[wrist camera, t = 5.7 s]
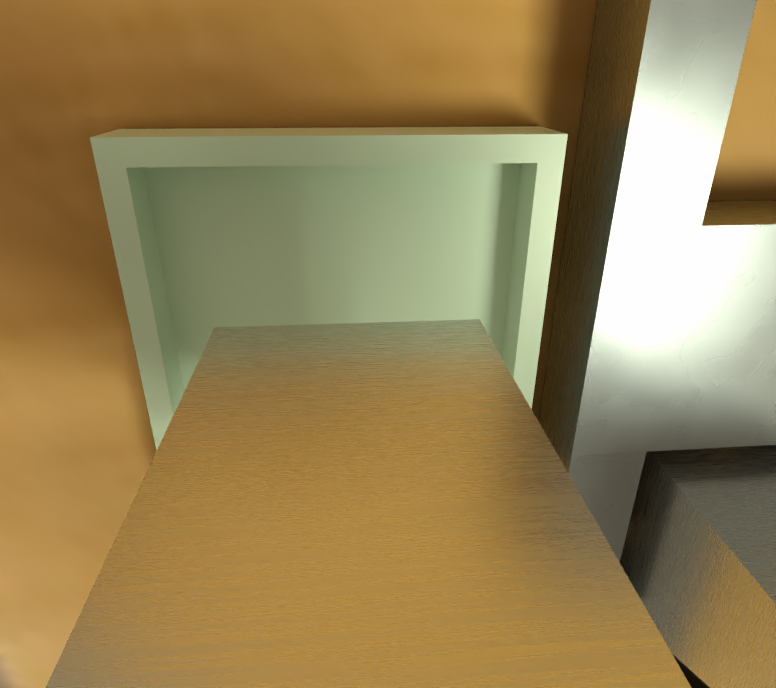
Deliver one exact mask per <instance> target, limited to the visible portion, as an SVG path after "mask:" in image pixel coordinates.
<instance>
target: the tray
mask: <svg viewBox="0 0 776 688" xmlns="http://www.w3.org/2000/svg"><path fill="white" fill-rule="evenodd" d="M567 137H568V134H566V133H563V132H559V131H556V130H552V129H549V128H545V127H542V126H505V127H340V128H175V129H117V130H114V131H110V132H107V133H103V134H100V135H96V136H93V137H90V141H91V146H92V151H93V156H94V160H95V165H96V170H97V174H98V179H99V184H100V188H101V193H102V198H103V202H104V207H105V212H106V216H107V221H108V226H109V230H110V235H111V240H112V245H113V249H114V254H115V259H116V263H117V268H118V273H119V277H120V282H121V287H122V291H123V296H124V301H125V305H126V310H127V315H128V319H129V324H130V329H131V334H132V338H133V343H134V348H135V352H136V357H137V362H138V366H139V371H140V376H141V380H142V385H143V390H144V394H145V399H146V404H147V408H148V413H149V418H150V423H151V427H152V432H153V437H154V441H155V446H156V451H157V449H158V447H159V445H160V443H161V441H162V438H163V436H164V434H165V432H166V430H167V428H168V426H169V423H170V421H171V419H172V417H173V415H174V413H175V411H176V409H177V406H178V404H179V402H180V400H181V398H182V396H183V394H184V391H185V389H186V387H187V385H188V383H189V381H190V379H191V376H192V374H193V372H194V370H195V368H196V366H197V364H198V362H199V359H200V357H201V355H202V353H203V351H204V349H205V347H206V344H207V342H208V340H209V338H210V336H211V334H212V332H213V329H214V328H216V327H247V326H279V325H311V324H342V323H374V322H405V321H437V320H468V319H480V321H481V323H482V324H483V326H484V328H485V330H486V331H487V333H488V335H489V336H490V338H491V340H492V342H493V343H494V345H495V347H496V349H497V350H498V352H499V354H500V356H501V357H502V359H503V361H504V363H505V364H506V366H507V368H508V370H509V371H510V373H511V375H512V376H513V378H514V380H515V382H516V383H517V385H518V387H519V389H520V390H521V392H522V394H523V396H524V397H525V399H526V401H527V403H528V404H529V406H530V408H531V410H532V403H533V395H534V388H535V380H536V373H537V365H538V357H539V350H540V342H541V335H542V327H543V319H544V312H545V304H546V297H547V289H548V281H549V274H550V266H551V259H552V251H553V243H554V236H555V228H556V220H557V213H558V205H559V198H560V190H561V182H562V175H563V167H564V160H565V152H566V144H567Z"/></svg>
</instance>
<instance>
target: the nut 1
mask: <svg viewBox="0 0 776 688" xmlns="http://www.w3.org/2000/svg"><path fill="white" fill-rule="evenodd" d="M46 688H691V686H690V684H689V682H688V681H687V679H686V677H685V675H684V674H683V672H682V670H681V668H680V667H679V665H678V663H677V662H676V660H675V658H674V656H673V655H672V653H671V651H670V649H669V648H668V646H667V644H666V642H665V641H664V639H663V637H662V635H661V634H660V632H659V630H658V629H657V627H656V625H655V623H654V622H653V620H652V618H651V616H650V615H649V613H648V611H647V609H646V608H645V606H644V604H643V602H642V601H641V599H640V597H639V595H638V594H637V592H636V590H635V589H634V587H633V585H632V583H631V582H630V580H629V578H628V576H627V575H626V573H625V571H624V569H623V568H622V566H621V564H620V562H619V561H618V559H617V557H616V556H615V554H614V552H613V550H612V549H611V547H610V545H609V543H608V542H607V540H606V538H605V536H604V535H603V533H602V531H601V529H600V528H599V526H598V524H597V522H596V521H595V519H594V517H593V516H592V514H591V512H590V510H589V509H588V507H587V505H586V503H585V502H584V500H583V498H582V496H581V495H580V493H579V491H578V489H577V488H576V486H575V484H574V483H573V481H572V479H571V477H570V476H569V474H568V472H567V470H566V469H565V467H564V465H563V463H562V462H561V460H560V458H559V456H558V455H557V453H556V451H555V449H554V448H553V446H552V444H551V443H550V441H549V439H548V437H547V436H546V434H545V432H544V430H543V429H542V427H541V425H540V423H539V422H538V420H537V418H536V416H535V415H534V413H533V411H532V410H531V408H530V406H529V404H528V403H527V401H526V399H525V397H524V396H523V394H522V392H521V390H520V389H519V387H518V385H517V383H516V382H515V380H514V378H513V376H512V375H511V373H510V371H509V370H508V368H507V366H506V364H505V363H504V361H503V359H502V357H501V356H500V354H499V352H498V350H497V349H496V347H495V345H494V343H493V342H492V340H491V338H490V336H489V335H488V333H487V331H486V330H485V328H484V326H483V324H482V323H481V321H480V319H468V320H437V321H405V322H374V323H342V324H311V325H279V326H247V327H216V328H214V329H213V332H212V334H211V336H210V338H209V340H208V342H207V344H206V347H205V349H204V351H203V353H202V355H201V357H200V359H199V362H198V364H197V366H196V368H195V370H194V372H193V374H192V376H191V379H190V381H189V383H188V385H187V387H186V389H185V391H184V394H183V396H182V398H181V400H180V402H179V404H178V406H177V409H176V411H175V413H174V415H173V417H172V419H171V421H170V423H169V426H168V428H167V430H166V432H165V434H164V436H163V438H162V441H161V443H160V445H159V447H158V449H157V451H156V453H155V456H154V458H153V460H152V462H151V464H150V466H149V468H148V470H147V473H146V475H145V477H144V479H143V481H142V483H141V485H140V488H139V490H138V492H137V494H136V496H135V498H134V500H133V503H132V505H131V507H130V509H129V511H128V513H127V515H126V517H125V520H124V522H123V524H122V526H121V528H120V530H119V532H118V535H117V537H116V539H115V541H114V543H113V545H112V547H111V550H110V552H109V554H108V556H107V558H106V560H105V562H104V564H103V567H102V569H101V571H100V573H99V575H98V577H97V579H96V582H95V584H94V586H93V588H92V590H91V592H90V594H89V597H88V599H87V601H86V603H85V605H84V607H83V609H82V612H81V614H80V616H79V618H78V620H77V622H76V624H75V626H74V629H73V631H72V633H71V635H70V637H69V639H68V641H67V644H66V646H65V648H64V650H63V652H62V654H61V656H60V659H59V661H58V663H57V665H56V667H55V669H54V671H53V673H52V676H51V678H50V680H49V682H48V684H47V686H46Z"/></svg>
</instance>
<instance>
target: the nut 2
mask: <svg viewBox="0 0 776 688" xmlns="http://www.w3.org/2000/svg"><path fill="white" fill-rule="evenodd" d="M620 564H621V566H622V568H623V569H624V571H625V573H626V575H627V576H628V578H629V580H630V582H631V583H632V585H633V587H634V589H635V590H636V592H637V594H638V595H639V597H640V599H641V601H642V602H643V604H644V606H645V608H646V609H647V611H648V613H649V615H650V616H651V618H652V620H653V622H654V623H655V625H656V627H657V629H658V630H659V632H660V634H661V635H662V637H663V639H664V641H665V642H666V644H667V646H668V648H669V649H670V651H671V653H672V654H673V655H675V656H676V657H677V658H678V659H679V660H680V661H681V662H682V663H683V664H684V665H686V666H687V667H688V668H689V669H690V670H691V671H692V672H693V673H694V674H696V675H697V676H698V677H699V678H700V679H701V680H702V681H703V682H704V683H705V684H707V685H708V686H709V687H710V688H776V445H762V446H743V447H724V448H705V449H686V450H667V451H648V452H646V456H645V460H644V464H643V468H642V472H641V476H640V481H639V485H638V489H637V493H636V497H635V501H634V505H633V509H632V513H631V517H630V522H629V526H628V530H627V534H626V538H625V542H624V546H623V550H622V554H621V558H620Z"/></svg>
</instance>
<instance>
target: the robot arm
mask: <svg viewBox="0 0 776 688" xmlns="http://www.w3.org/2000/svg"><path fill="white" fill-rule="evenodd" d="M672 655H673V654H672ZM673 656H674V658H675V660H676V662H677V663H678V665H679V667H680V668H681V670H682V672H683V674H684V675H685V677H686V679H687V681H688V682H689V684H690V686H691V688H710V687H709V686H708V685H707V684H705V683H704V682H703V681H702V680H701V679H700V678H699V677H698V676H697V675H696V674H694V673H693V672H692V671H691V670H690V669H689V668H688V667H687V666H686V665H684V664H683V663H682V662H681V661H680V660H679V659H678V658H677V657H676V656H675V655H673Z"/></svg>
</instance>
